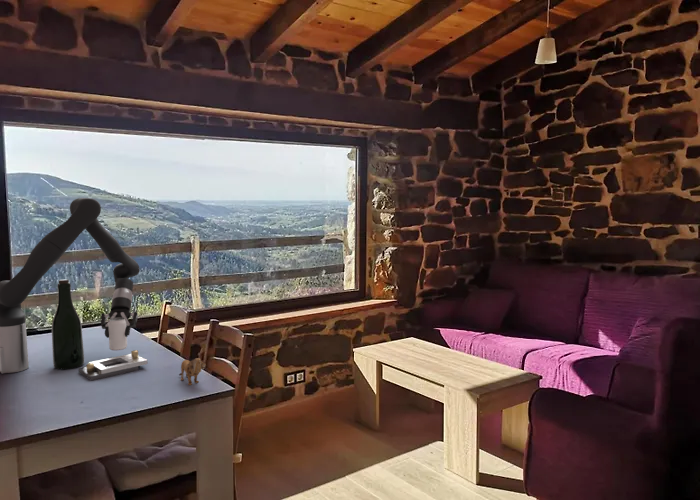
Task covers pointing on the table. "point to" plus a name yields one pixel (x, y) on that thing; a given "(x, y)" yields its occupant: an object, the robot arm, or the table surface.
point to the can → (117, 333)
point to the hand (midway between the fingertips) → (116, 336)
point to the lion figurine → (191, 369)
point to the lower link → (94, 375)
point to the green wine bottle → (66, 331)
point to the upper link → (126, 360)
